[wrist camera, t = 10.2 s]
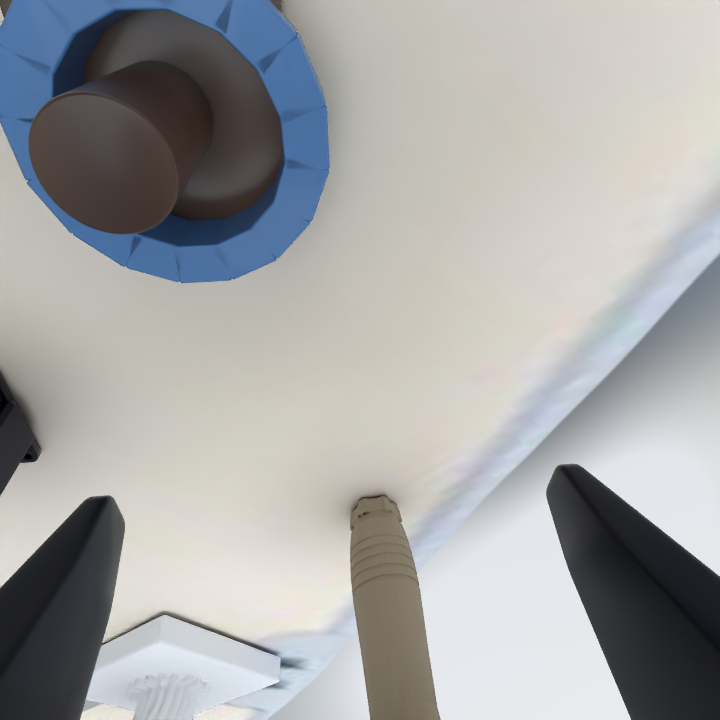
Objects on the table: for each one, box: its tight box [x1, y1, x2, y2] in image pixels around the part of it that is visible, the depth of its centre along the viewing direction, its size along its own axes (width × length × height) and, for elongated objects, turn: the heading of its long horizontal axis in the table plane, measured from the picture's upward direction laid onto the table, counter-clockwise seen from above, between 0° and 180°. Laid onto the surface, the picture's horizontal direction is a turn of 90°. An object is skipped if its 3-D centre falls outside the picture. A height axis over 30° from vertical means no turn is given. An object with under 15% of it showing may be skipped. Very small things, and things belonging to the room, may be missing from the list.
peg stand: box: [0, 0, 283, 235], centre depth 14 cm, size 8×8×7 cm
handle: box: [350, 496, 440, 720], centre depth 26 cm, size 5×6×15 cm
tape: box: [0, 0, 329, 283], centre depth 15 cm, size 9×9×2 cm
